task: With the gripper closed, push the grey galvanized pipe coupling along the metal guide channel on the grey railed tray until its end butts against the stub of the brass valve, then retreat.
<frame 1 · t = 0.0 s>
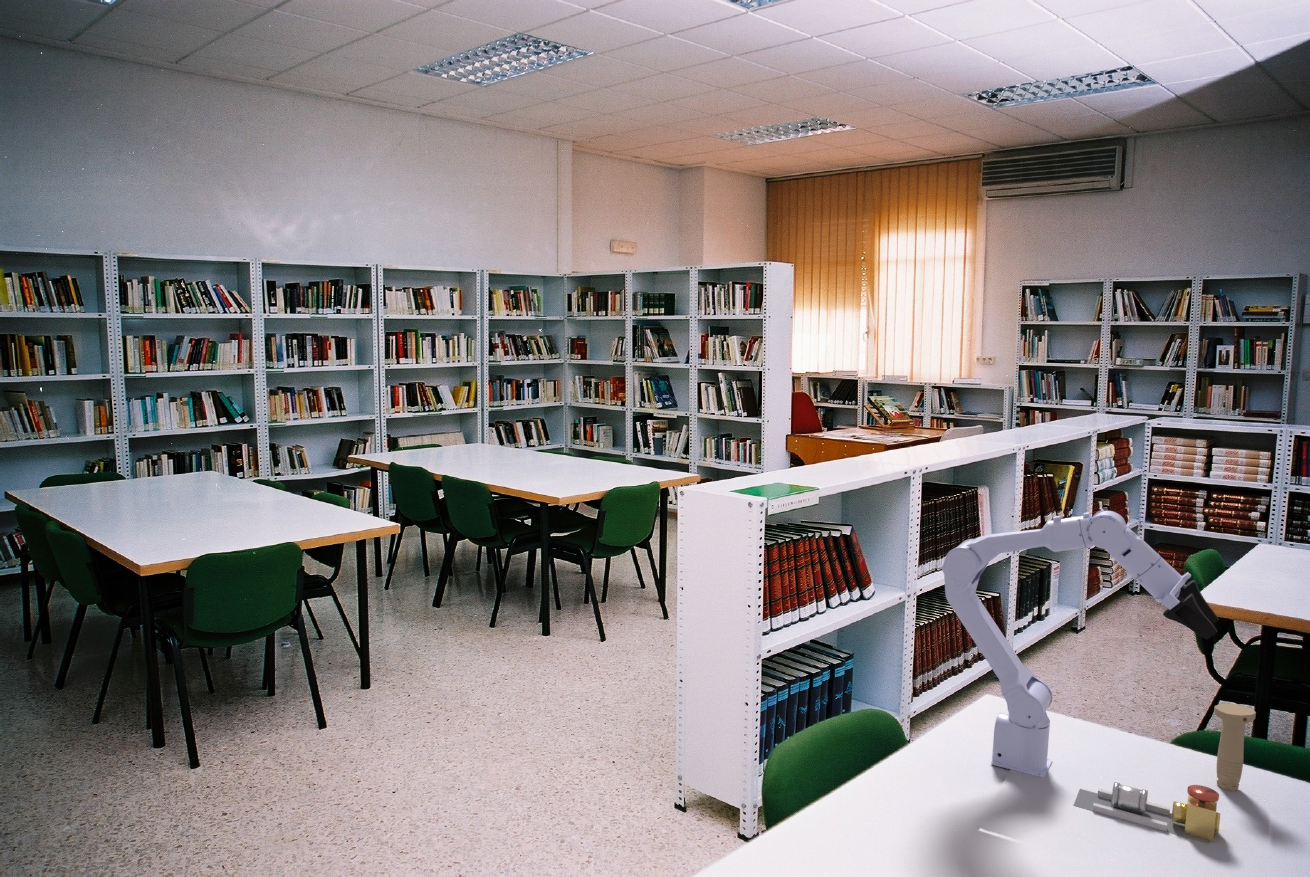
hand: (1213, 629, 150), 32 cm above the table, tool tilted 50°, fingers open, 7 cm apart
coupling: (1128, 811, 152), resting on grey railed tray
valve: (1199, 832, 146), resting on grey railed tray
handle: (1227, 789, 161), on the table
grey railed tray: (1140, 816, 151), on the table
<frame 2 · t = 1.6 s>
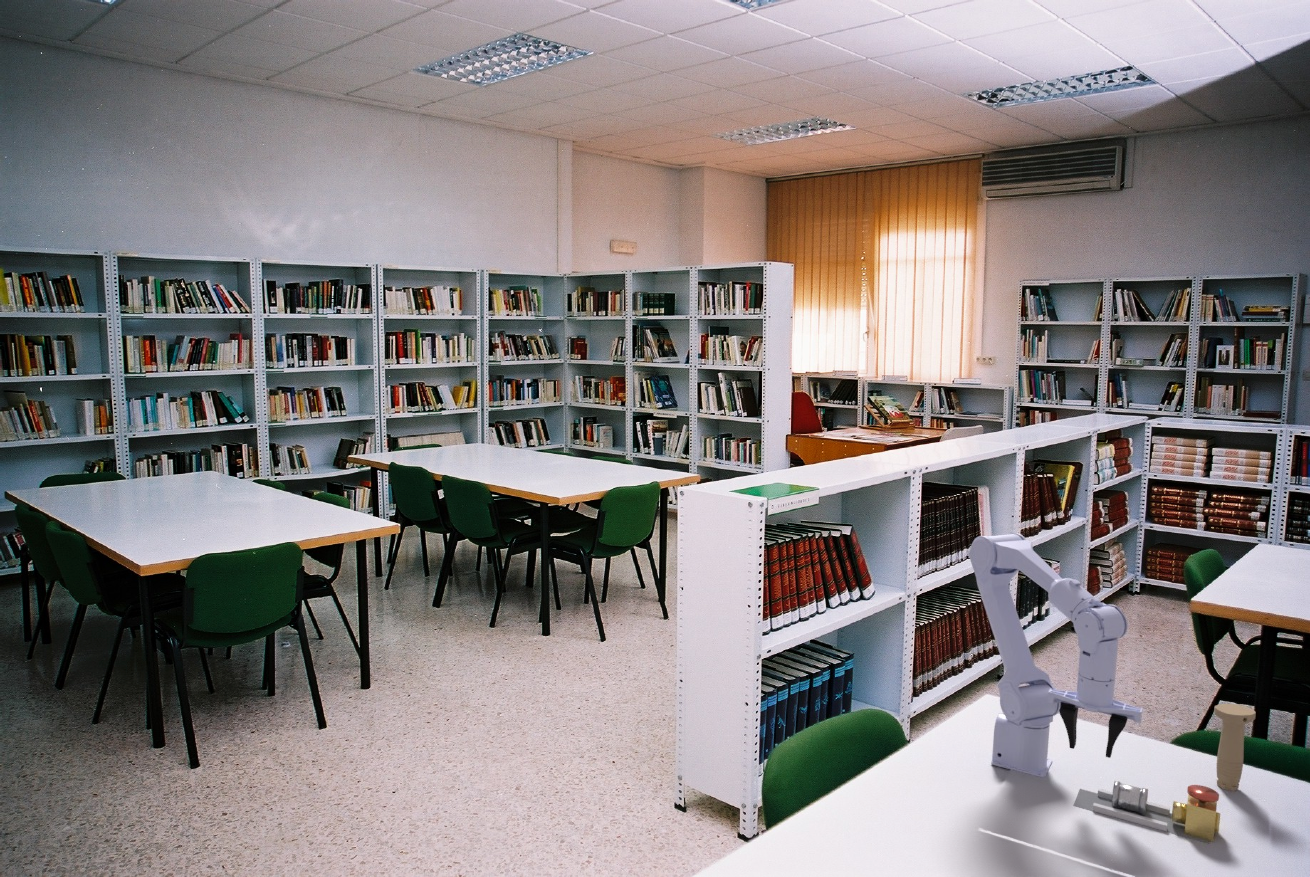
hand: (1090, 750, 155), 9 cm above the table, tool pointing down, fingers open, 5 cm apart
coupling: (1128, 810, 152), resting on grey railed tray, tilted 18°
everything else where it was.
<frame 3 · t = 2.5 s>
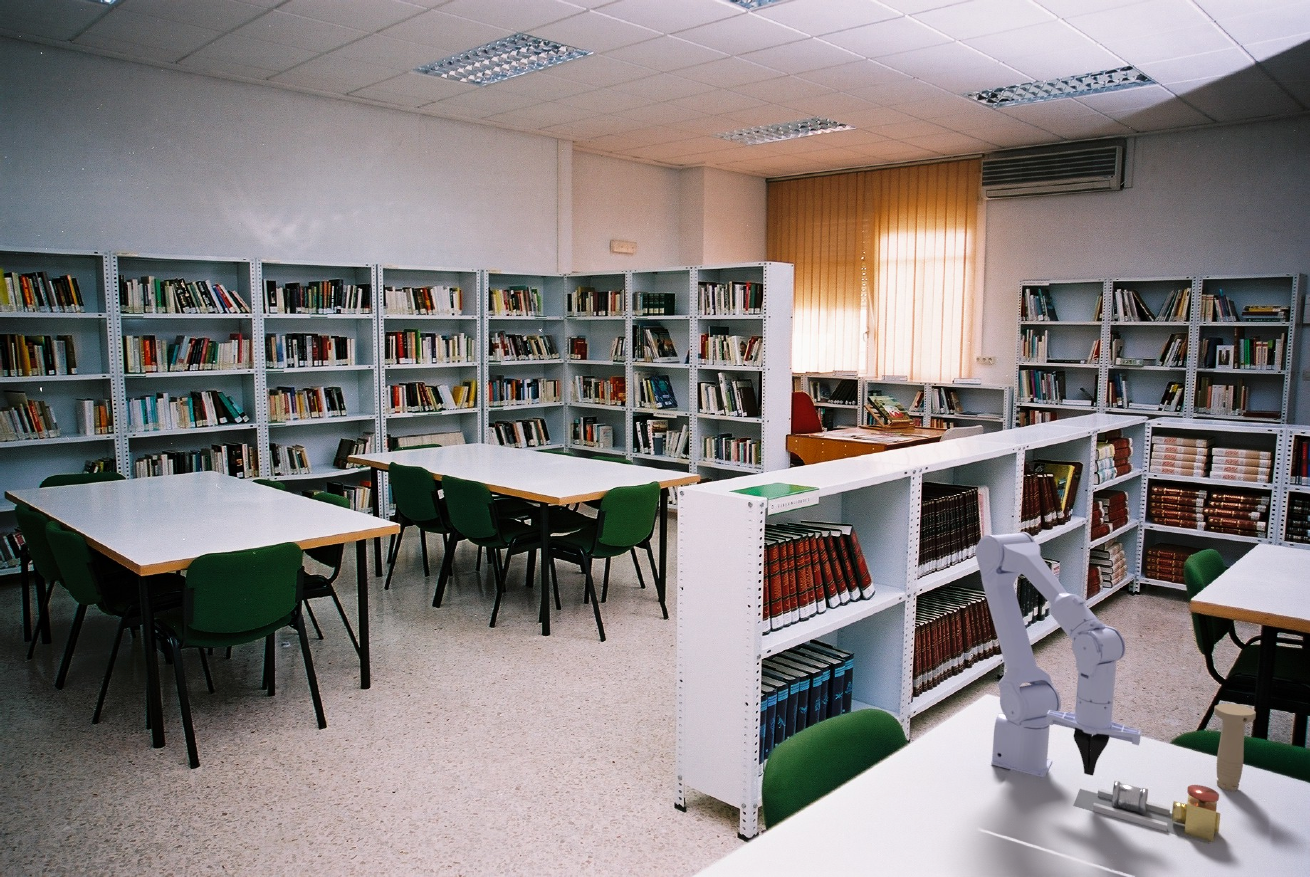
hand: (1089, 772, 155), 5 cm above the table, tool pointing down, fingers closed
nothing on the table moved.
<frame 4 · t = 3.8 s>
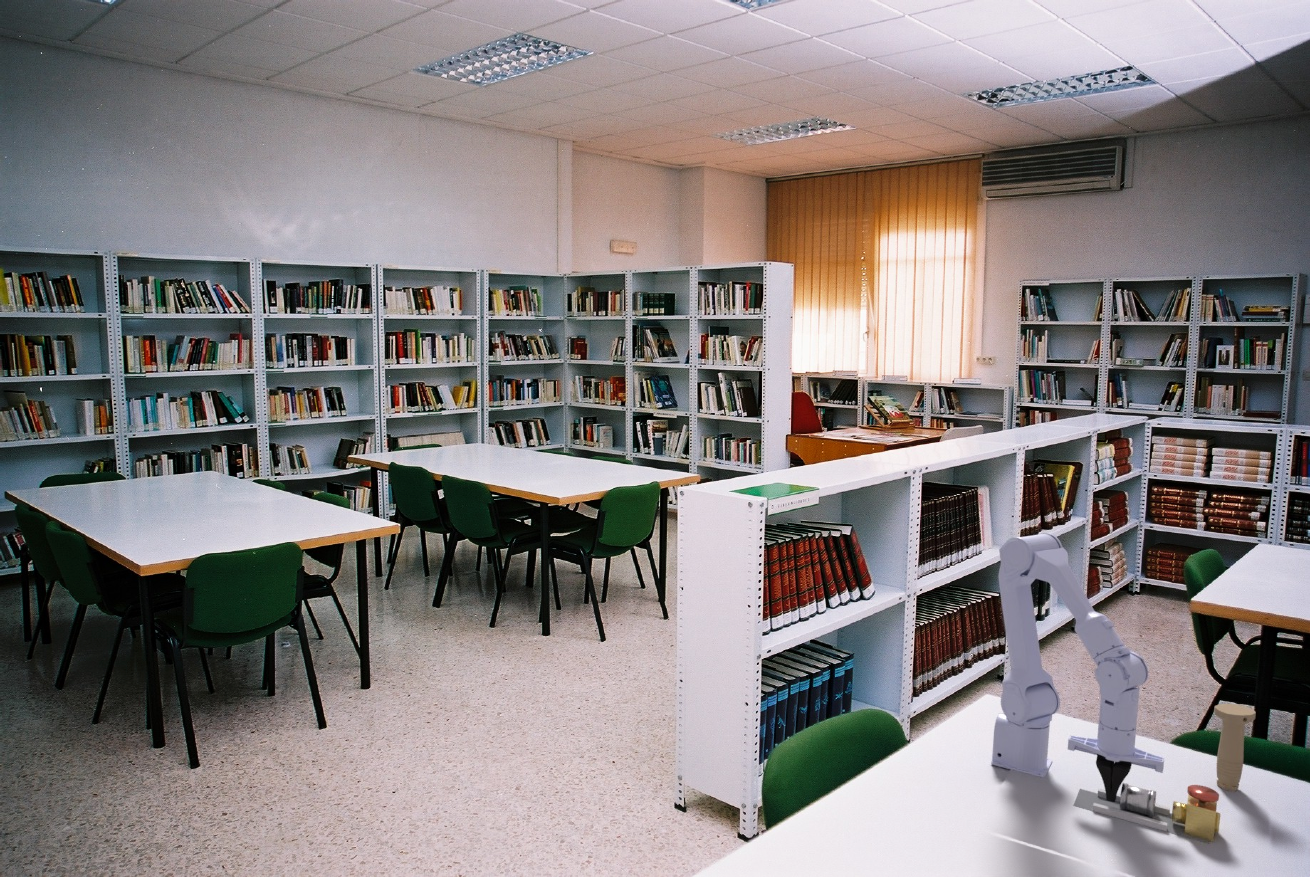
hand: (1111, 798, 153), 2 cm above the table, tool pointing down, fingers closed
coupling: (1136, 812, 151), resting on grey railed tray, tilted 18°, touching gripper
everything else where it was.
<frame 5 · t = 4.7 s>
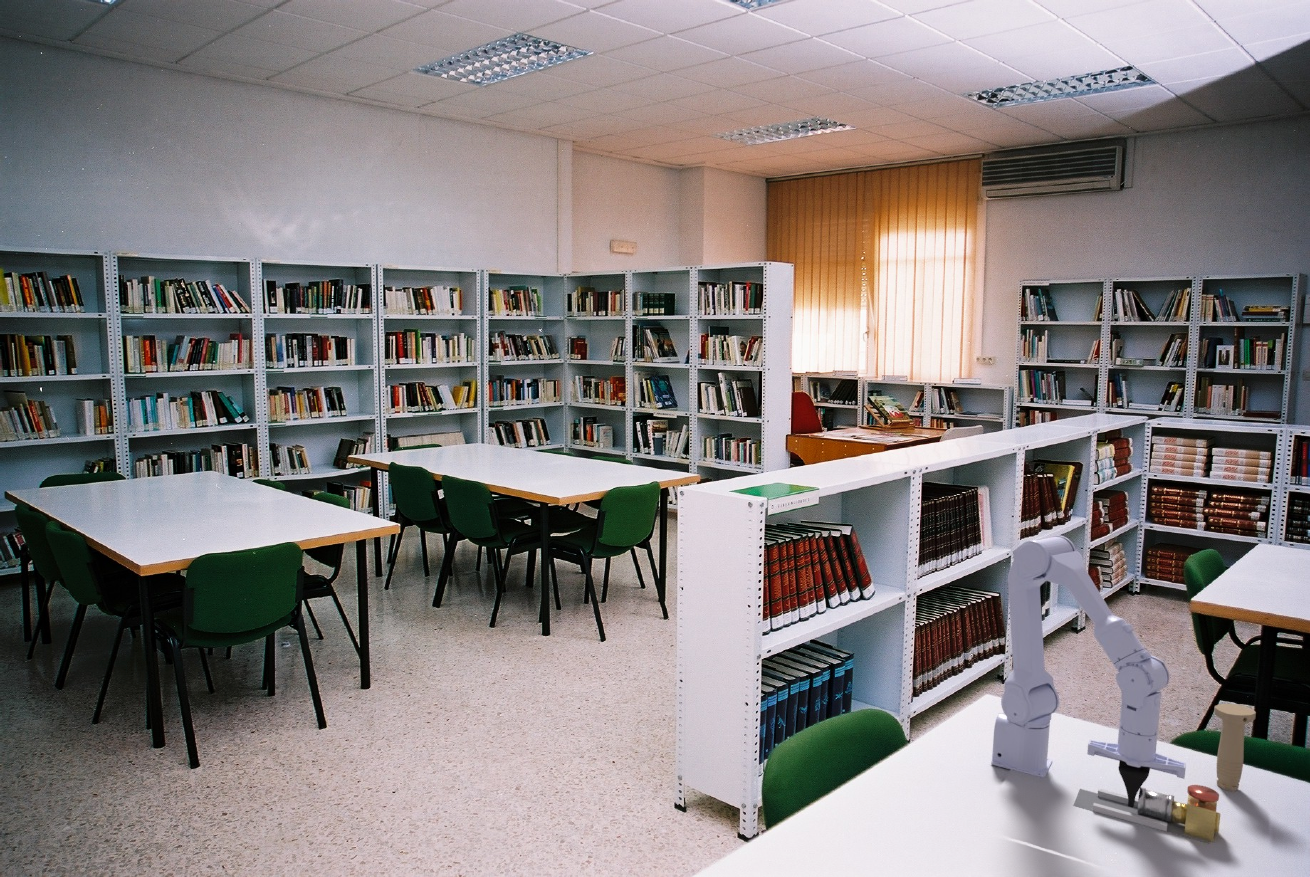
hand: (1131, 804, 152), 2 cm above the table, tool pointing down, fingers closed
coupling: (1154, 817, 150), point 1 cm above the table, tilted 18°, touching grey railed tray, gripper, valve
everything else where it was.
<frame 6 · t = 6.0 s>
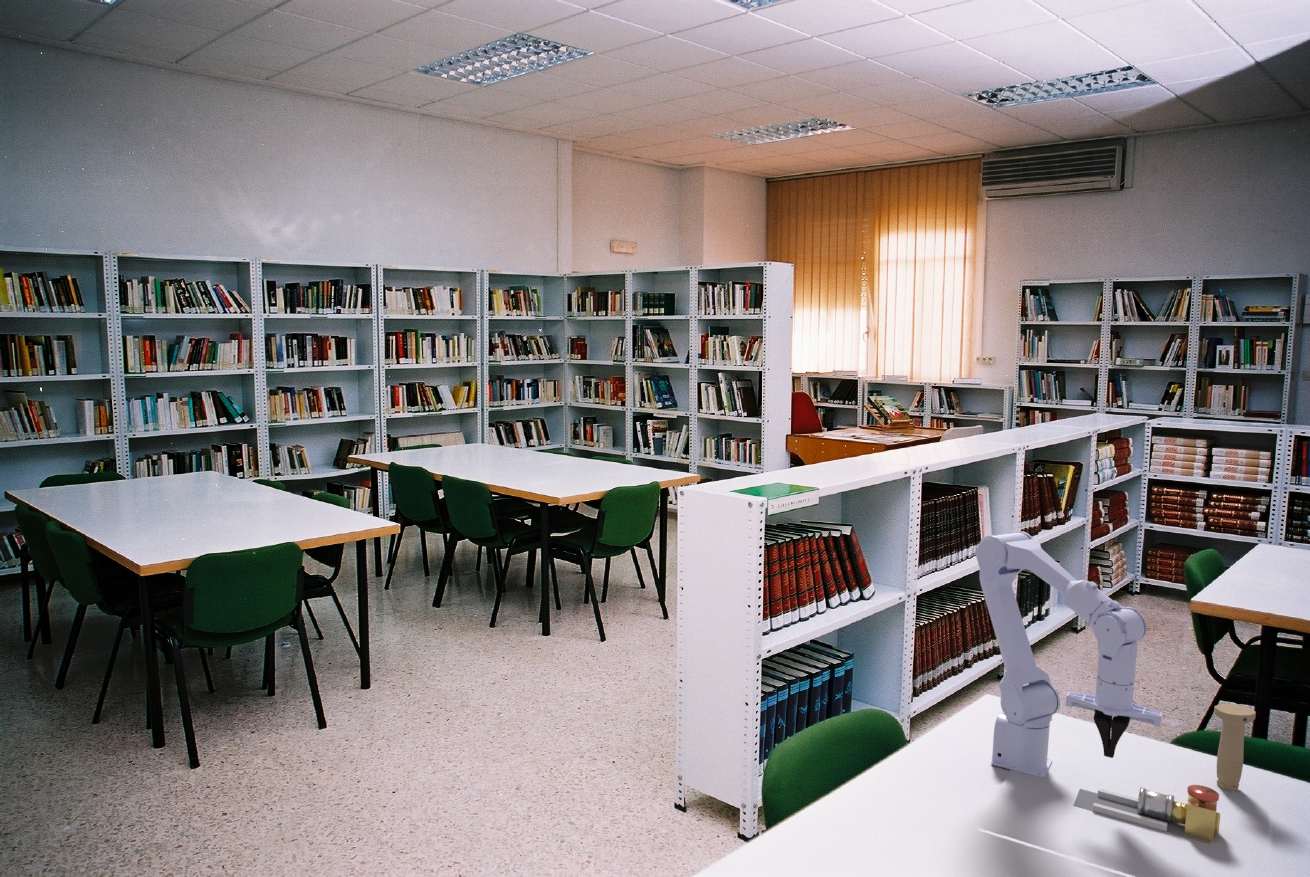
hand: (1109, 754, 153), 9 cm above the table, tool pointing down, fingers closed
coupling: (1154, 817, 150), point 1 cm above the table, tilted 18°, touching grey railed tray, valve
everything else where it was.
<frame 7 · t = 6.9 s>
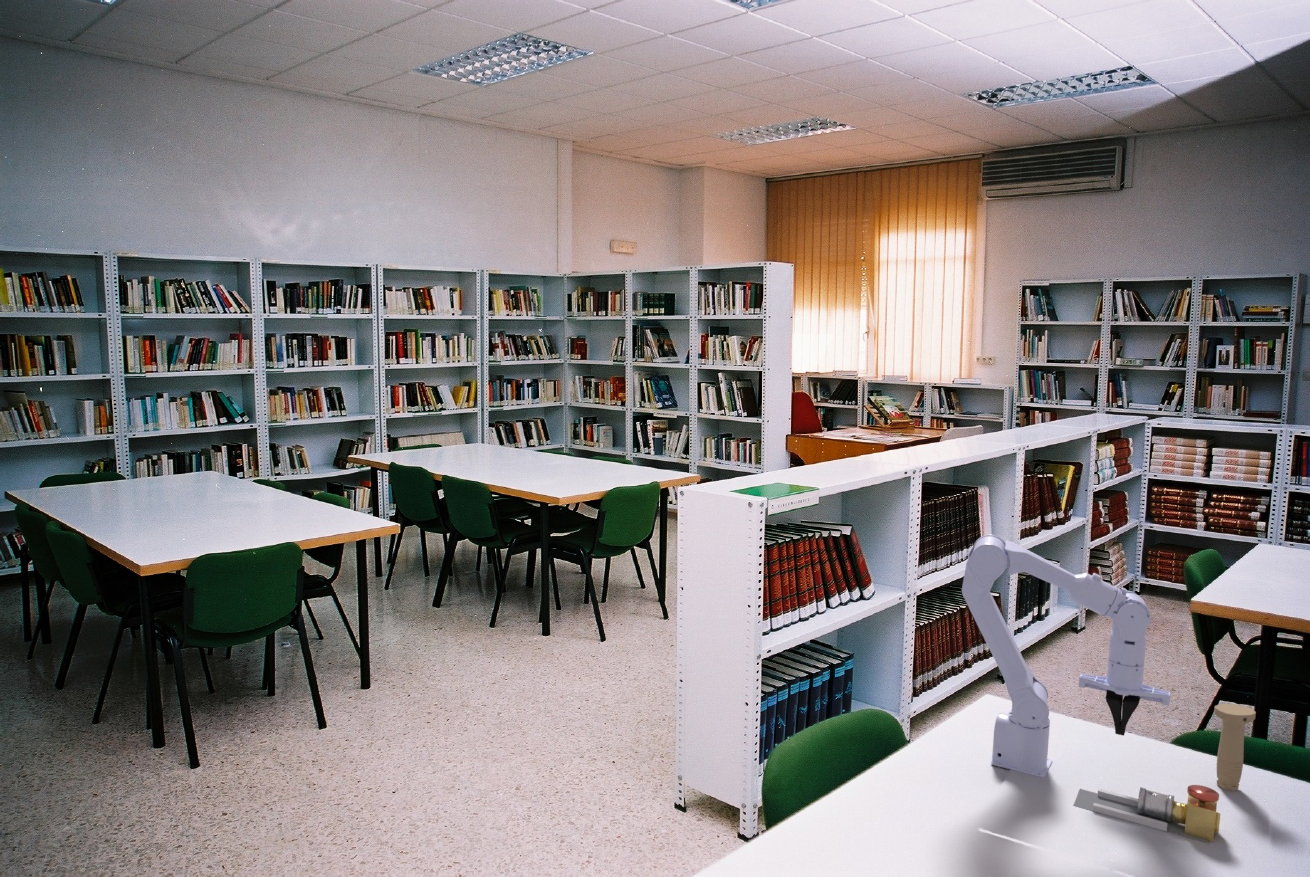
hand: (1120, 732, 162), 9 cm above the table, tool pointing down, fingers closed
nothing on the table moved.
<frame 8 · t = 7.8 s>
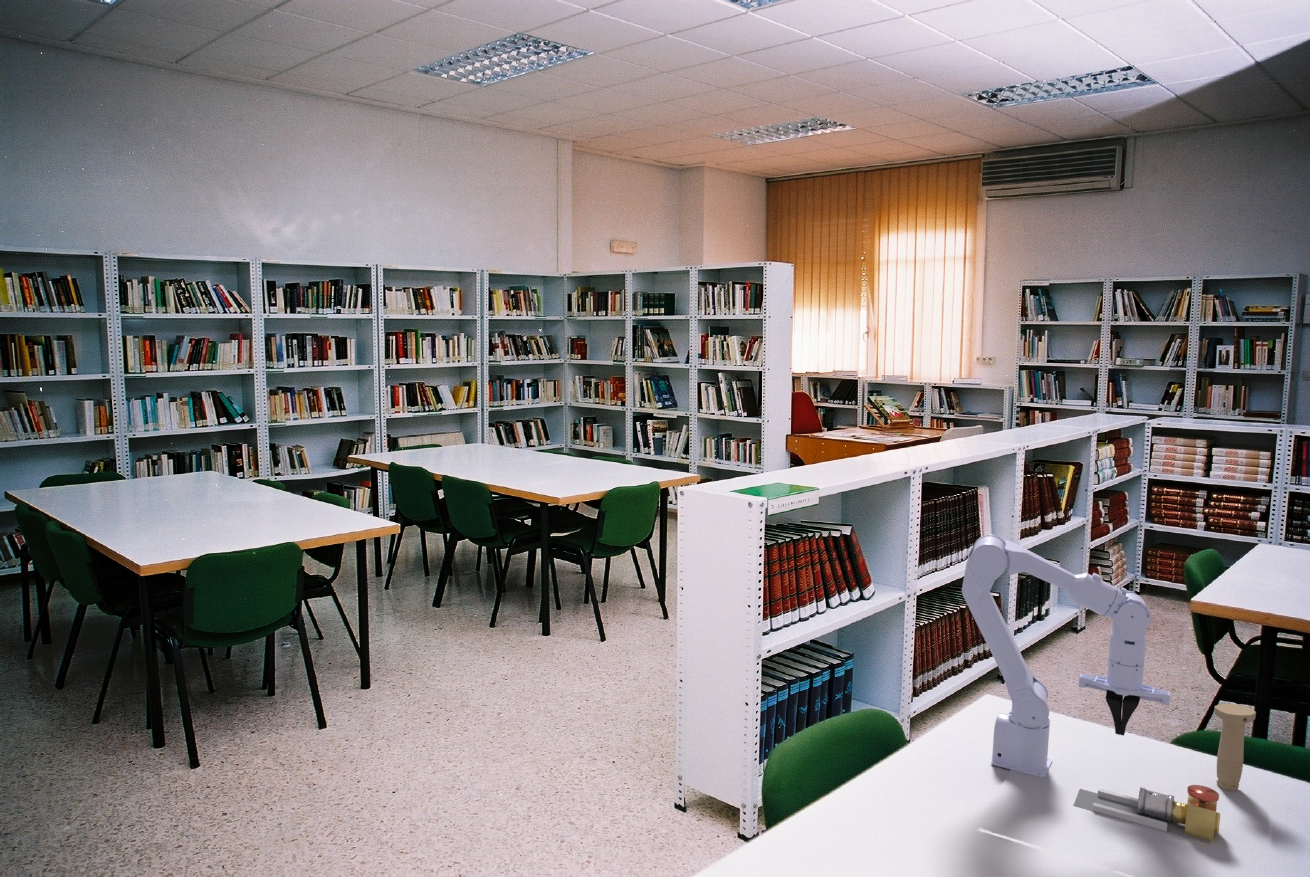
hand: (1120, 732, 162), 9 cm above the table, tool pointing down, fingers closed
nothing on the table moved.
at the end: coupling 0.5 cm from the target spot on the table beside the valve, point 0.5 cm above the table; coupling moved 3.9 cm from its start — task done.
